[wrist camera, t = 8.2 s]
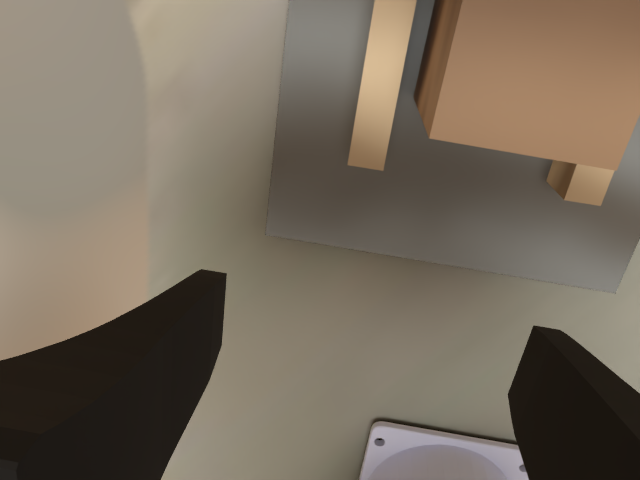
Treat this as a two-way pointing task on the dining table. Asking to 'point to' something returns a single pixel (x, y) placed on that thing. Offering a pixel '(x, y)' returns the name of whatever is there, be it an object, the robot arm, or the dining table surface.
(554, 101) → the cabinet block
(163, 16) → the dining table surface
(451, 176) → the cradle
